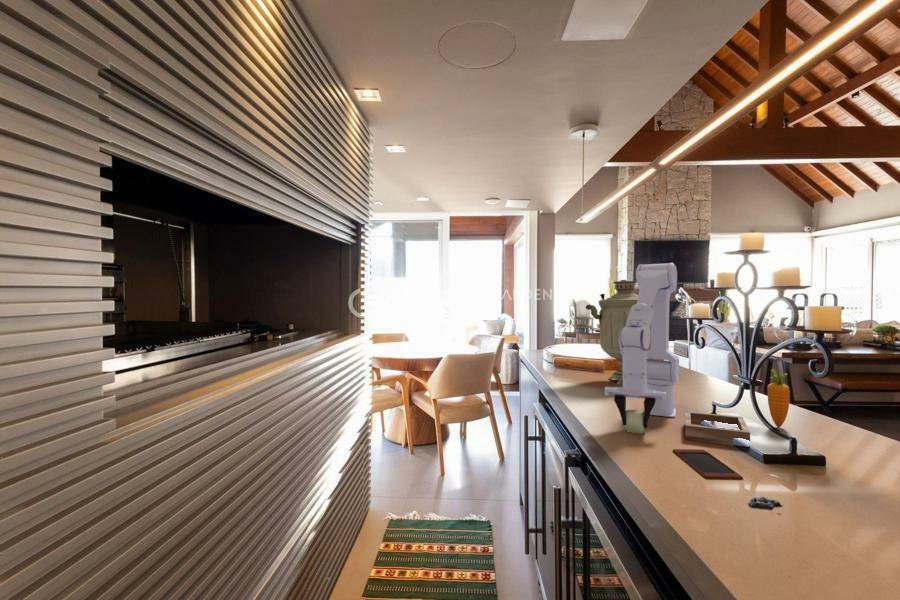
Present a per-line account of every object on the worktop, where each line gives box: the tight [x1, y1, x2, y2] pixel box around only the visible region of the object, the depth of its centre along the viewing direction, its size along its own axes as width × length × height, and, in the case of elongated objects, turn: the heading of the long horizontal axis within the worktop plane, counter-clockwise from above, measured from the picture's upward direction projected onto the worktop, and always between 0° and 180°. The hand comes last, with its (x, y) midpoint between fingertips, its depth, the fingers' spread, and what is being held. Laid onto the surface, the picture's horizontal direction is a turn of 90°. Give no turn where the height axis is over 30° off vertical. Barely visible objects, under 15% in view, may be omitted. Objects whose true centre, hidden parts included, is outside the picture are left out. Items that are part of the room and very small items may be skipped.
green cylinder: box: [625, 409, 645, 435], centre depth 113 cm, size 4×4×5 cm
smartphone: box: [672, 448, 744, 481], centre depth 91 cm, size 7×1×15 cm
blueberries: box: [747, 496, 784, 515], centre depth 73 cm, size 7×8×2 cm
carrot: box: [766, 368, 791, 428], centre depth 115 cm, size 5×5×15 cm
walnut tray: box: [684, 410, 751, 447], centre depth 109 cm, size 14×13×4 cm
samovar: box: [585, 280, 651, 386], centre depth 172 cm, size 30×26×40 cm
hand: (634, 425), depth 113 cm, fingers closed on green cylinder, 4 cm apart
